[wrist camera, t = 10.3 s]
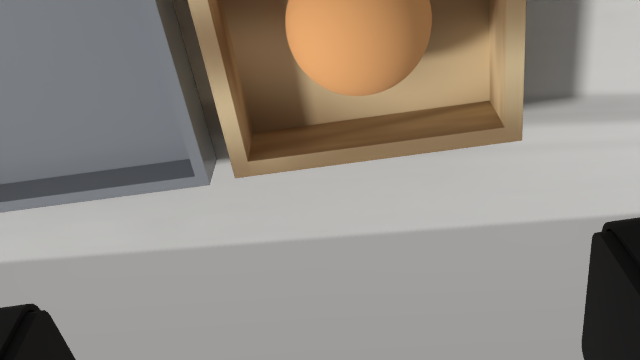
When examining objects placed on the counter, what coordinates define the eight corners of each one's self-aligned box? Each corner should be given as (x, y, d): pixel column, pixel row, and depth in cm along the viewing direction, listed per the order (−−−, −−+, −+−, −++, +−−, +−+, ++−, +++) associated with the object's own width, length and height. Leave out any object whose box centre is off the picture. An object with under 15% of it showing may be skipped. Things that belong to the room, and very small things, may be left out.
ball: (277, -58, 26) (267, -20, 21) (416, -80, 26) (440, -47, 21) (300, 71, 30) (296, 130, 24) (424, 53, 29) (446, 110, 24)
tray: (170, -145, 25) (151, -136, 22) (505, -203, 24) (532, -203, 21) (242, 142, 32) (235, 178, 29) (502, 107, 31) (521, 140, 28)
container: (-219, -99, 26) (-266, -89, 24) (127, -160, 25) (109, -156, 23) (-50, 195, 34) (-75, 222, 32) (216, 159, 33) (209, 184, 31)
